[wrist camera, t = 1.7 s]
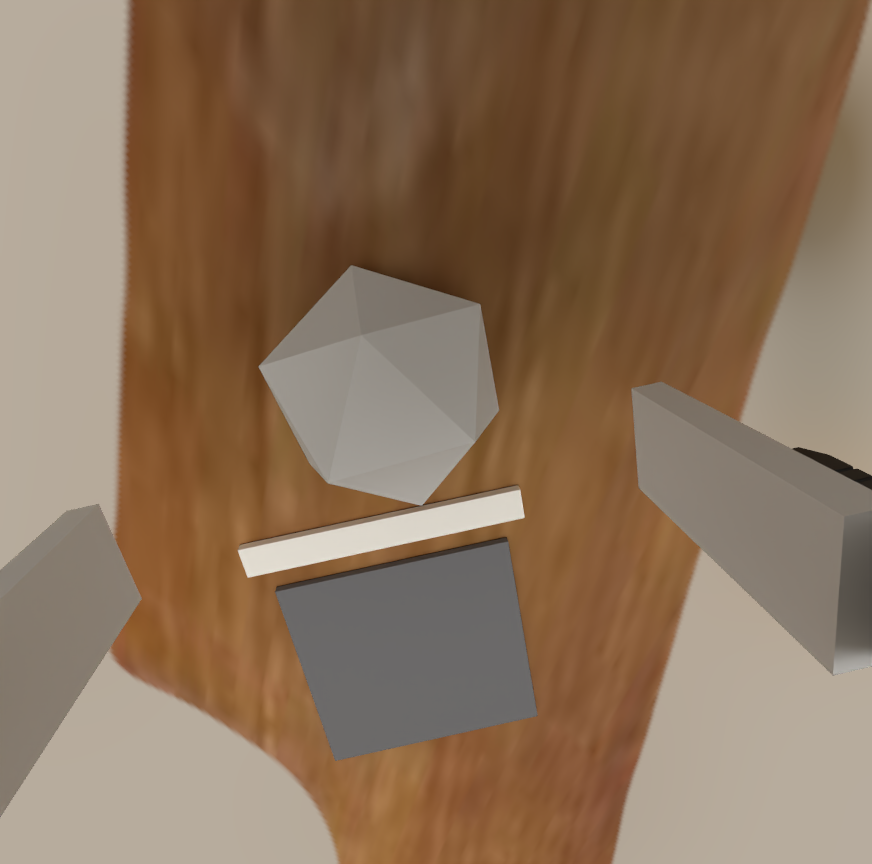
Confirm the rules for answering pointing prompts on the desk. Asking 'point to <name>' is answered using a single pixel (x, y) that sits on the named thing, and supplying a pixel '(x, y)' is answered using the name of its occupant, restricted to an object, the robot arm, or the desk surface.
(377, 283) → the die
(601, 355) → the desk surface
